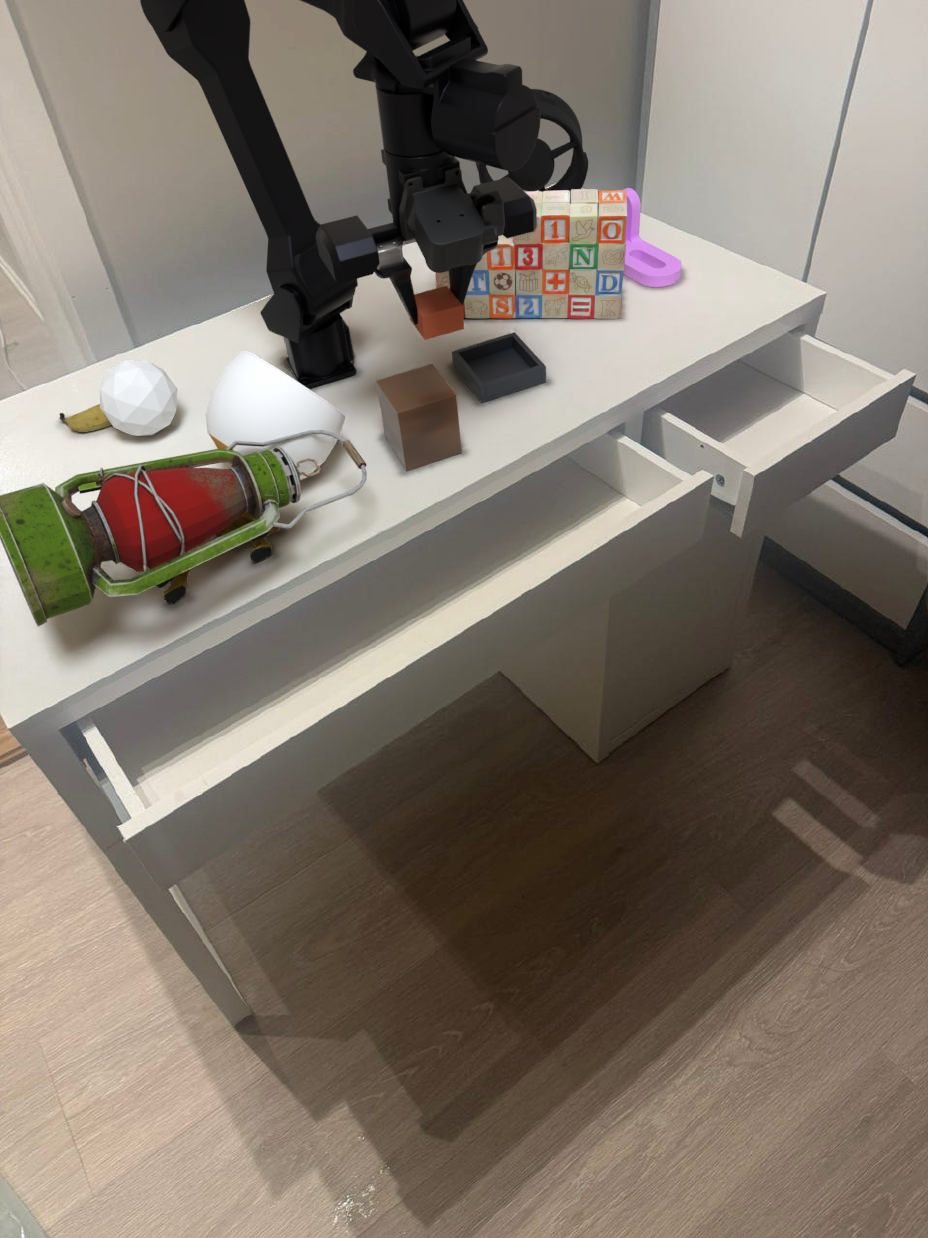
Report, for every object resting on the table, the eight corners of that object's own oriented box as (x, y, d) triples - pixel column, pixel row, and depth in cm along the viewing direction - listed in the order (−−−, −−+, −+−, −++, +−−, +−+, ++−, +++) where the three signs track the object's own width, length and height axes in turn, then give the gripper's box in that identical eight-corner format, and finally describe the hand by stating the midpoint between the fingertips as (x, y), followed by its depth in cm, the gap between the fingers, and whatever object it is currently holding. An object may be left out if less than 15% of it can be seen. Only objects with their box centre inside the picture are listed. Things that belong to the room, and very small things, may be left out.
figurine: (294, 550, 85) (235, 464, 92) (279, 507, 80) (217, 419, 87) (144, 627, 81) (93, 532, 88) (118, 587, 76) (66, 489, 83)
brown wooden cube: (406, 471, 91) (397, 413, 86) (385, 438, 95) (375, 380, 89) (461, 452, 92) (456, 394, 87) (439, 420, 96) (432, 362, 91)
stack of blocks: (438, 320, 109) (428, 217, 99) (444, 292, 113) (435, 191, 104) (621, 318, 106) (628, 213, 97) (620, 290, 110) (627, 187, 101)
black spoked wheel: (462, 220, 119) (460, 183, 126) (566, 248, 123) (559, 211, 129) (497, 107, 109) (493, 73, 115) (610, 142, 112) (599, 107, 119)
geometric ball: (167, 435, 102) (184, 365, 99) (167, 454, 95) (186, 379, 92) (94, 415, 99) (111, 342, 96) (89, 433, 92) (106, 355, 89)
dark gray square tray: (481, 403, 97) (480, 387, 96) (452, 366, 102) (451, 351, 101) (546, 382, 99) (546, 366, 98) (515, 347, 104) (514, 331, 102)
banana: (156, 416, 99) (154, 400, 102) (147, 396, 98) (146, 380, 101) (63, 442, 98) (65, 425, 101) (53, 423, 97) (55, 406, 100)
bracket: (584, 252, 117) (586, 197, 112) (618, 238, 119) (621, 183, 114) (655, 292, 109) (660, 235, 104) (689, 275, 111) (696, 219, 106)
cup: (159, 420, 84) (214, 329, 83) (225, 455, 96) (274, 375, 95) (261, 488, 81) (319, 393, 80) (317, 514, 92) (367, 432, 92)
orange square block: (424, 340, 85) (421, 316, 83) (409, 320, 88) (406, 295, 86) (464, 329, 86) (462, 304, 84) (448, 309, 89) (446, 285, 87)
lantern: (-36, 453, 69) (323, 357, 82) (2, 545, 78) (322, 446, 90) (21, 583, 63) (400, 459, 75) (55, 668, 72) (391, 544, 84)
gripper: (337, 209, 68) (368, 388, 79) (566, 152, 71) (563, 331, 83) (297, 154, 75) (331, 326, 86) (507, 105, 78) (513, 276, 90)
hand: (435, 316), depth 86 cm, fingers closed on orange square block, 4 cm apart
